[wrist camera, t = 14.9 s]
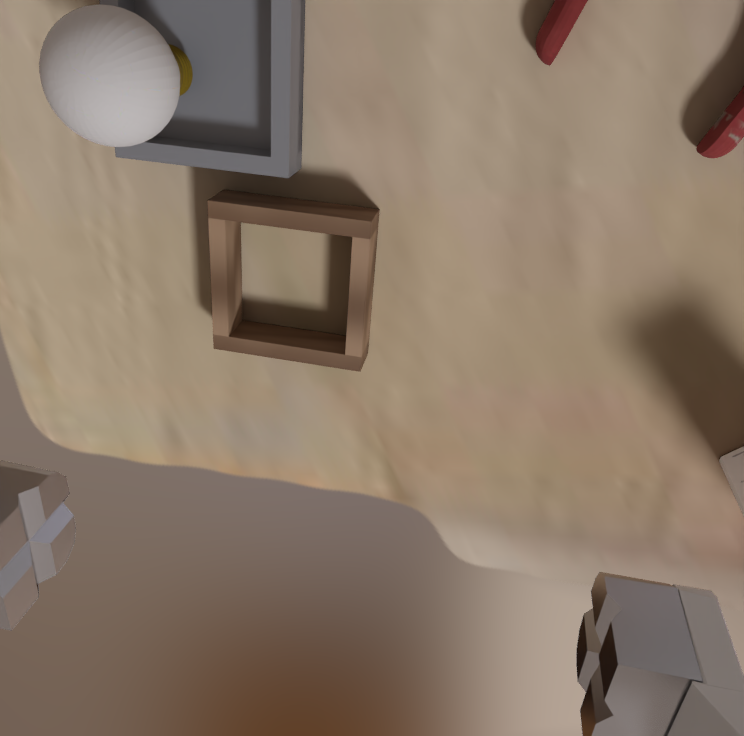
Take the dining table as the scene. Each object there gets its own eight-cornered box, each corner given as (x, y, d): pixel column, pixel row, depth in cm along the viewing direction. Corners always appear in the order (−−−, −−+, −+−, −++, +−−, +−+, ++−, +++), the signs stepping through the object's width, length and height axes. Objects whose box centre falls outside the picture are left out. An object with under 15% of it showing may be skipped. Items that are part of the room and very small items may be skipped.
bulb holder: (223, 189, 41) (207, 200, 39) (379, 209, 40) (371, 221, 38) (228, 331, 45) (213, 348, 43) (367, 353, 44) (360, 371, 42)
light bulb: (122, 1, 36) (1, -9, 27) (230, 17, 36) (143, 13, 27) (125, 118, 39) (16, 144, 30) (226, 135, 38) (146, 167, 30)
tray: (119, -49, 36) (93, -52, 34) (305, -34, 35) (291, -36, 32) (137, 148, 41) (116, 156, 39) (301, 168, 39) (288, 178, 37)
